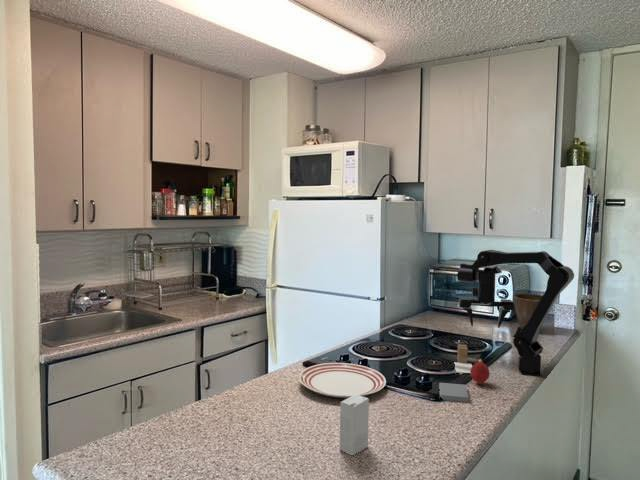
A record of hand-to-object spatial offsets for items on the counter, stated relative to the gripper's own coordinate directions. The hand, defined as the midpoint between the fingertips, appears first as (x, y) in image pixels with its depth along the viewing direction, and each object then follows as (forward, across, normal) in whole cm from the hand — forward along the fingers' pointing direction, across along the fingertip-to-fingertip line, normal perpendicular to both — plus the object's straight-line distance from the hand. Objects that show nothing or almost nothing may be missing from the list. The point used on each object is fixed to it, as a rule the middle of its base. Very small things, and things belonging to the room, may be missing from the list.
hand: (485, 326), depth 175 cm
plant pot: (+13, -26, -49) cm, 57 cm away
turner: (+13, +8, +8) cm, 17 cm away
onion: (+13, +4, +23) cm, 27 cm away
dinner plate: (+14, +47, +35) cm, 60 cm away
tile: (+12, +13, +29) cm, 34 cm away
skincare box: (+13, +38, +73) cm, 83 cm away
